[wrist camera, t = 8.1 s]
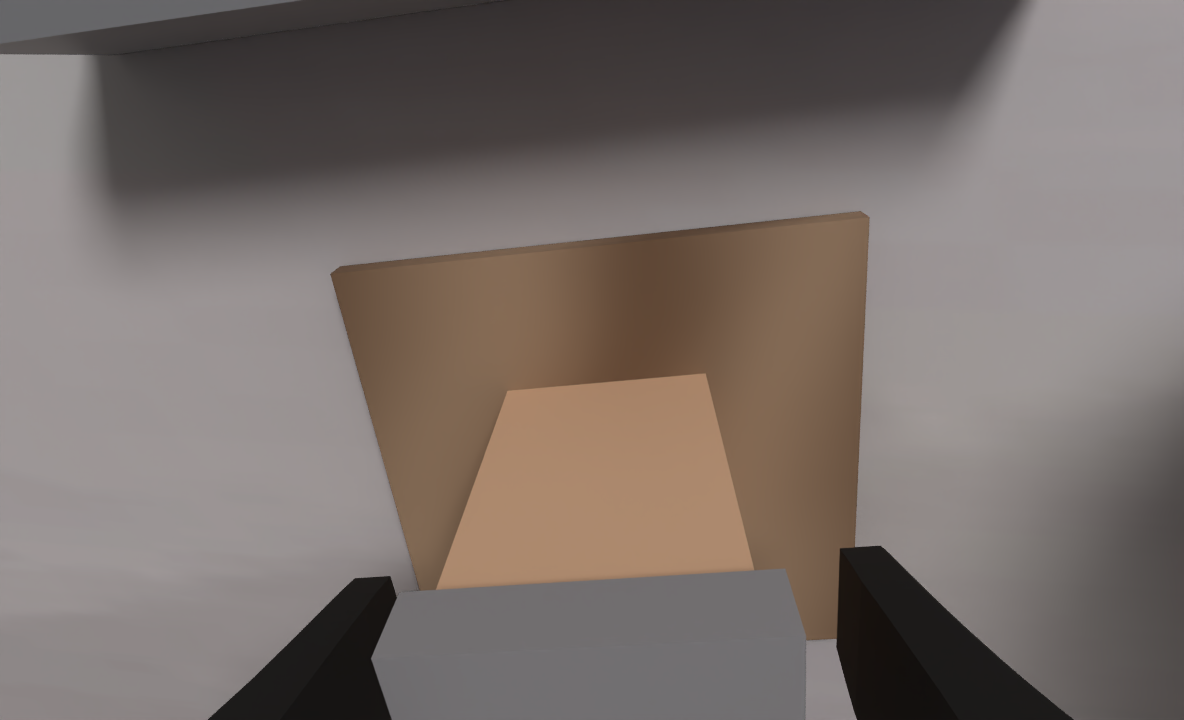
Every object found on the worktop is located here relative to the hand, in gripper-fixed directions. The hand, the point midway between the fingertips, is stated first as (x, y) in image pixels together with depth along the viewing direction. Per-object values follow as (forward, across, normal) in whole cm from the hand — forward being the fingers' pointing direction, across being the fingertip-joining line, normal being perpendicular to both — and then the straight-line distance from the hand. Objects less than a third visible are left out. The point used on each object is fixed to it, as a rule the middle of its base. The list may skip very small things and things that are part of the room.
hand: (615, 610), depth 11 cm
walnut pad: (+4, 0, 0) cm, 4 cm away
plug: (+4, 0, 0) cm, 4 cm away
